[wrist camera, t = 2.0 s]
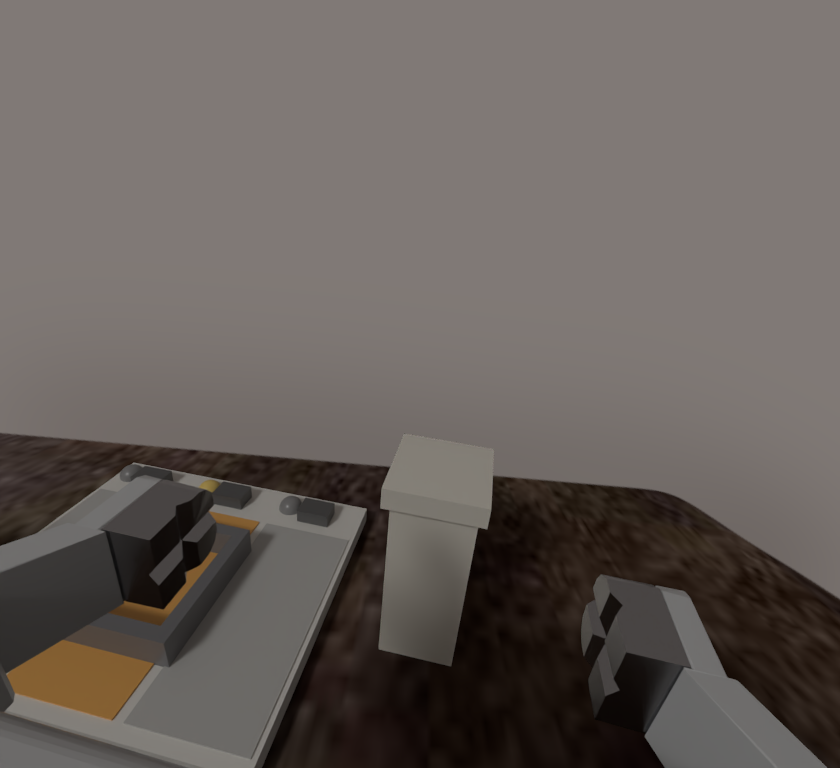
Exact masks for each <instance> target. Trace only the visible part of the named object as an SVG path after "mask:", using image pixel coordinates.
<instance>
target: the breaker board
mask: <svg viewBox="0 0 840 768" xmlns="http://www.w3.org/2000/svg"><path fill="white" fill-rule="evenodd" d="M144 475H147V476H151V477H155V478H159V479H163V480H170V481H174V482H178V483H182V484H186V485H190V486H194V487H198V488H202V489H206V490H208V491H210V492H212V495H213V501H214V506H213V507H212V508H211V509H210V510H209V513H210V514H211V515H212V517H213V518H214V519H215V520H216V526H217V532H216V539H215V542H214V544H213V547H212V549H211V551H210V553H209V555H208V556H207V557H206V559H205V560H204V561H203V563H202V564H201V565H200V566H198V567H196V568H194V569H192V570H190V571H188V572H187V575H186V583H185V585H184V586H183V587H182V588H181V589H180V591H179V592H178V593H177V594H176V595H175V597H174V598H173V599H172V600H171V601H170V603H169V604H168V605H167V606H166V607H165V609H164V610H163V609H158V608H154V607H149V606H145V605H140V604H135V603H131V602H126V601H124V603H123V604H122V605H120V606H119V607H117V608H115V609H114V610H112V611H110V612H109V613H107V614H105V615H104V616H102V617H100V618H99V619H97V620H95V621H94V622H92V623H90V624H88V625H87V626H85V627H83V628H82V629H80V630H78V631H77V632H75V633H73V634H72V635H70V636H68V637H67V638H65V639H63V640H62V641H60V642H58V643H57V644H55V645H53V646H52V647H50V648H48V649H46V650H45V651H43V652H41V653H40V654H38V655H36V656H35V657H33V658H31V659H30V660H28V661H26V662H25V663H23V664H21V665H20V666H18V667H16V668H15V669H13V670H11V671H10V672H8V673H6V675H7V677H8V679H9V681H10V684H11V686H12V688H13V690H14V692H15V696H14V702H13V703H12V704H11V705H10V706H9V707H8V709H7V710H6V711H5V712H4V713H7V714H11V715H14V716H18V717H21V718H24V719H28V720H31V721H34V722H38V723H41V724H44V725H48V726H51V727H54V728H58V729H61V730H64V731H68V732H71V733H74V734H78V735H81V736H84V737H88V738H91V739H95V740H98V741H101V742H105V743H108V744H111V745H115V746H118V747H121V748H125V749H128V750H131V751H135V752H138V753H141V754H145V755H148V756H151V757H155V758H158V759H161V760H165V761H168V762H171V763H175V764H178V765H182V766H185V767H188V768H262V767H263V764H264V762H265V759H266V757H267V755H268V752H269V750H270V748H271V745H272V743H273V740H274V738H275V736H276V733H277V731H278V729H279V726H280V724H281V721H282V719H283V717H284V714H285V712H286V710H287V707H288V705H289V703H290V700H291V698H292V695H293V693H294V691H295V688H296V686H297V684H298V681H299V679H300V676H301V674H302V672H303V669H304V667H305V665H306V662H307V660H308V657H309V655H310V653H311V650H312V648H313V646H314V643H315V641H316V639H317V636H318V634H319V631H320V629H321V627H322V624H323V622H324V620H325V617H326V615H327V612H328V610H329V608H330V605H331V603H332V601H333V598H334V596H335V594H336V591H337V589H338V586H339V584H340V582H341V579H342V577H343V575H344V572H345V570H346V567H347V565H348V563H349V560H350V558H351V556H352V553H353V551H354V548H355V546H356V544H357V541H358V539H359V537H360V534H361V532H362V530H363V527H364V525H365V522H366V517H367V509H365V508H359V507H354V506H349V505H344V504H339V503H334V502H329V501H324V500H319V499H314V498H309V497H304V496H299V495H294V494H289V493H284V492H279V491H274V490H269V489H264V488H259V487H254V486H249V485H244V484H239V483H234V482H229V481H224V480H219V479H214V478H208V477H203V476H198V475H193V474H188V473H183V472H178V471H173V470H168V469H163V468H158V467H153V466H148V465H143V464H138V463H133V464H131V465H128V466H126V467H125V468H123V470H122V471H121V472H120V473H119V474H117V475H116V476H115V477H113V478H112V479H111V480H109V481H108V482H106V483H105V484H104V485H102V486H101V487H100V488H98V489H97V490H95V491H94V492H93V493H91V494H90V495H89V496H87V497H86V498H84V499H83V500H82V501H80V502H79V503H78V504H76V505H75V506H74V507H72V508H71V509H69V510H68V511H67V512H65V513H64V514H63V515H61V516H60V517H58V518H57V519H56V520H54V521H53V522H52V523H50V524H49V525H47V526H46V527H45V528H43V529H42V530H41V531H39V532H42V531H45V530H48V529H51V528H54V527H57V526H60V525H63V524H66V523H71V524H76V523H77V522H78V521H80V520H81V519H82V518H84V517H85V516H86V515H88V514H89V513H90V512H92V511H93V510H94V509H95V508H97V507H98V506H99V505H101V504H102V503H103V502H105V501H106V500H107V499H109V498H110V497H111V496H113V495H114V494H115V493H117V492H118V491H119V490H121V489H122V488H123V487H124V486H126V485H127V484H128V483H130V482H131V481H132V480H134V479H135V478H136V477H140V476H144ZM39 532H38V533H39ZM36 534H37V533H36Z"/></svg>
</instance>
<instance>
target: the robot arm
mask: <svg viewBox="0 0 840 768" xmlns="http://www.w3.org/2000/svg"><path fill="white" fill-rule="evenodd" d="M213 506H214V501H213V495H212V492H210V491H208V490H206V489H202V488H198V487H194V486H190V485H186V484H182V483H178V482H174V481H170V480H163V479H159V478H155V477H151V476H147V475H144V476H140V477H136V478H135V479H134V480H132V481H131V482H130V483H128V484H127V485H126V486H124V487H123V488H122V489H121V490H119V491H118V492H117V493H115V494H114V495H113V496H111V497H110V498H109V499H107V500H106V501H105V502H103V503H102V504H101V505H99V506H98V507H97V508H95V509H94V510H93V511H92V512H90V513H89V514H88V515H86V516H85V517H84V518H82V519H81V520H80V521H78V522H77V523H76V524H71V523H66V524H63V525H60V526H57V527H54V528H51V529H48V530H45V531H42V532H39V533H37V534H34V535H31V536H28V537H25V538H22V539H19V540H16V541H13V542H10V543H7V544H5V545H2V546H0V768H188V767H185V766H182V765H178V764H175V763H171V762H168V761H165V760H161V759H158V758H155V757H151V756H148V755H145V754H141V753H138V752H135V751H131V750H128V749H125V748H121V747H118V746H115V745H111V744H108V743H105V742H101V741H98V740H95V739H91V738H88V737H84V736H81V735H78V734H74V733H71V732H68V731H64V730H61V729H58V728H54V727H51V726H48V725H44V724H41V723H38V722H34V721H31V720H28V719H24V718H21V717H18V716H14V715H11V714H7V713H4V712H5V711H6V710H7V709H8V707H9V706H10V705H11V704H12V703H13V702H14V696H15V692H14V690H13V688H12V686H11V684H10V681H9V679H8V677H7V675H6V673H8V672H10V671H11V670H13V669H15V668H16V667H18V666H20V665H21V664H23V663H25V662H26V661H28V660H30V659H31V658H33V657H35V656H36V655H38V654H40V653H41V652H43V651H45V650H46V649H48V648H50V647H52V646H53V645H55V644H57V643H58V642H60V641H62V640H63V639H65V638H67V637H68V636H70V635H72V634H73V633H75V632H77V631H78V630H80V629H82V628H83V627H85V626H87V625H88V624H90V623H92V622H94V621H95V620H97V619H99V618H100V617H102V616H104V615H105V614H107V613H109V612H110V611H112V610H114V609H115V608H117V607H119V606H120V605H122V604H123V603H124V601H126V602H131V603H135V604H140V605H145V606H149V607H154V608H158V609H163V610H164V609H165V607H166V606H167V605H168V604H169V603H170V601H171V600H172V599H173V598H174V597H175V595H176V594H177V593H178V592H179V591H180V589H181V588H182V587H183V586H184V585H185V583H186V575H187V572H188V571H190V570H192V569H194V568H196V567H198V566H200V565H201V564H202V563H203V561H204V560H205V559H206V557H207V556H208V555H209V553H210V551H211V549H212V547H213V544H214V542H215V539H216V532H217V526H216V520H215V519H214V518H213V517H212V515H211V514H210V513H209V510H210V509H211V508H212V507H213ZM593 590H594V594H595V600H594V601H592V602H590V603H588V604H587V606H586V609H585V611H584V614H583V619H582V627H581V641H582V649H583V655H584V658H585V659H586V660H587V662H588V663H589V664H590V665H591V667H592V668H593V669H592V672H591V674H590V676H589V679H588V685H589V690H590V696H591V701H592V707H593V713H594V718H595V720H599V721H602V722H606V723H609V724H613V725H616V726H620V727H623V728H627V729H630V730H634V731H637V732H641V733H644V734H645V738H646V739H647V741H648V742H649V744H650V746H651V747H652V749H653V750H654V752H655V753H656V755H657V756H658V758H659V759H660V761H661V762H662V764H663V766H664V767H665V768H827V767H826V766H825V765H824V764H823V763H822V762H821V761H820V760H819V759H818V758H817V757H816V756H815V755H814V754H813V753H812V752H811V751H810V750H809V749H807V748H806V747H805V746H804V745H803V744H802V743H801V742H800V741H799V740H798V739H797V738H796V737H795V736H794V735H793V734H792V733H791V732H790V731H789V730H788V729H787V728H786V727H785V726H784V725H783V724H782V723H781V722H780V721H779V720H778V719H777V718H776V717H775V716H773V715H772V714H771V713H770V712H769V711H768V710H767V709H766V708H765V707H764V706H763V705H762V704H761V703H760V702H759V701H758V700H757V699H756V698H755V697H754V696H753V695H752V694H751V693H750V692H749V691H748V690H747V689H746V688H745V687H744V686H743V685H742V684H741V683H739V682H738V681H737V680H734V679H731V678H728V677H727V675H726V673H725V671H724V669H723V667H722V665H721V663H720V660H719V658H718V656H717V654H716V652H715V650H714V648H713V646H712V643H711V641H710V639H709V637H708V635H707V633H706V631H705V629H704V626H703V624H702V622H701V620H700V618H699V616H698V614H697V611H696V609H695V607H694V605H693V603H692V601H691V599H690V597H689V596H688V595H687V594H686V593H685V592H684V591H681V590H676V589H671V588H666V587H661V586H653V585H650V584H645V583H640V582H636V581H631V580H626V579H621V578H616V577H611V576H607V575H602V574H601V575H600V576H599V577H598V578H597V580H596V582H595V585H594V587H593Z"/></svg>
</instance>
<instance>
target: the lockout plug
mask: <svg viewBox="0 0 840 768" xmlns="http://www.w3.org/2000/svg"><path fill="white" fill-rule="evenodd" d="M493 458H494V449H490V448H485V447H479V446H473V445H467V444H461V443H456V442H450V441H445V440H439V439H433V438H427V437H422V436H416V435H410V434H404V436H403V438H402V441H401V443H400V446H399V448H398V450H397V453H396V455H395V458H394V460H393V462H392V465H391V467H390V470H389V472H388V474H387V477H386V479H385V482H384V484H383V486H382V491H381V505H380V508H381V509H387V510H390V514H389V526H388V539H387V551H386V563H385V576H384V588H383V601H382V613H381V625H380V638H379V649H380V650H384V651H388V652H392V653H397V654H401V655H405V656H409V657H413V658H417V659H422V660H426V661H430V662H434V663H438V664H443V665H447V666H451V665H452V660H453V655H454V650H455V645H456V639H457V634H458V629H459V624H460V619H461V614H462V608H463V603H464V598H465V593H466V588H467V583H468V577H469V572H470V567H471V562H472V557H473V552H474V546H475V541H476V536H477V531H478V528H483V529H487V528H488V523H489V518H490V514H491V506H492V482H493Z"/></svg>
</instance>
